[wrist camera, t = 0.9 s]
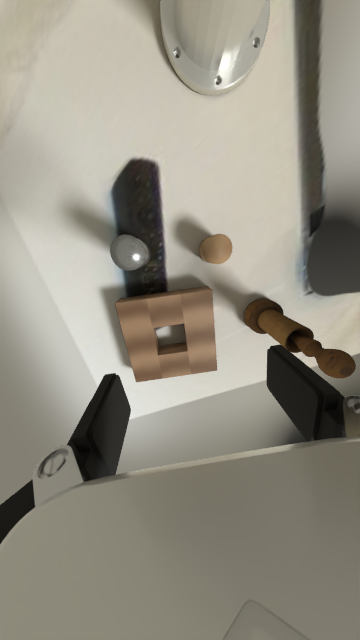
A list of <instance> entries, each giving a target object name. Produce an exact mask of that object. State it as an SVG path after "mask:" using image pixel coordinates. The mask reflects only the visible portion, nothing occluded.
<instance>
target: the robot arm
mask: <svg viewBox="0 0 360 640" xmlns="http://www.w3.org/2000/svg"><path fill="white" fill-rule="evenodd" d="M269 15H270V0H160V21H161V30H162V38H163V42H164V46H165V50H166V53H167V55H168V58H169V60H170V63H171V65H172V66H173V68H174V70H175V72H176V73H177V75H178V76H179V77H180V78H181V80H182V81H183V82H184V83H185V84H186V85H187V86H189V87H190V88H191V89H192V90H194V91H196V92H199V93H201V94H205V95H210V96H211V95H221V94H224V93H227V92H229V91H230V90H232V89H234V88H235V87H237V86H238V85H239V84H240V83H241V82H242V81H243V80H244V79H245V78H246V76H247V75H248V74H249V72H250V71H251V69H252V67H253V66H254V64H255V62H256V60H257V58H258V55H259V53H260V51H261V49H262V46H263V43H264V39H265V36H266V32H267V28H268V22H269ZM267 387H268V389H269V390H270V392H271V393H272V395H273V396H274V397H275V399H276V400H277V401H278V403H279V404H280V405H281V407H282V408H283V410H284V411H285V412H286V414H287V415H288V416H289V418H290V419H291V420H292V422H293V423H294V425H295V426H296V427H297V428H298V430H299V431H300V433H301V434H302V435H303V437H304V438H305V439H306V441H307V442H303V443H297V444H290V445H284V446H278V447H272V448H266V449H259V450H253V451H247V452H241V453H235V454H230V455H224V456H218V457H212V458H206V459H200V460H194V461H189V462H183V463H177V464H172V465H166V466H160V467H155V468H149V469H144V470H138V471H132V472H128V473H122V474H117V475H115V474H116V470H117V466H118V462H119V458H120V454H121V450H122V446H123V441H124V437H125V433H126V429H127V425H128V421H129V417H130V412H131V409H130V405H129V402H128V399H127V397H126V394H125V391H124V388H123V385H122V383H121V380H120V377H119V375H116V374H115V373H113V374H107V375H105V376H104V377H103V379H102V381H101V383H100V385H99V387H98V389H97V391H96V393H95V394H94V396H93V398H92V400H91V401H90V403H89V405H88V407H87V408H86V410H85V412H84V414H83V416H82V418H81V419H80V421H79V424H78V425H77V427H76V429H75V431H74V433H73V435H72V436H71V438H70V440H69V442H68V444H67V445H61V446H59V447H56V448H54V449H53V450H51V451H50V452H48V453H47V454H46V455H45V456H44V457H43V458H42V459H41V460H40V461H39V463H38V464H37V466H36V467H35V470H34V472H33V479H32V480H31V481H30V482H29V483H27V484H26V485H25V486H24V487H22V488H21V489H20V490H19V491H18V492H17V493H15V494H14V495H12V496H11V497H10V498H9V499H7V500H6V501H5V502H4V503H2V504H1V505H0V640H360V396H348V397H346V398H345V397H344V396H342V395H341V394H340V392H339V391H338V390H336V389H335V388H334V387H333V386H331V385H330V384H329V383H328V382H327V381H325V380H324V379H323V378H322V377H320V376H319V375H318V374H317V373H315V372H314V371H313V370H312V369H311V368H309V367H308V366H307V365H306V364H304V363H303V362H302V361H301V360H299V359H298V358H297V357H296V356H295V355H293V354H292V353H291V352H290V351H288V350H287V349H286V348H285V347H283V346H282V345H275V346H271V347H270V349H268V351H267Z"/></svg>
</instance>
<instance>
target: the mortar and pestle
mask: <svg viewBox="0 0 360 640" xmlns="http://www.w3.org/2000/svg"><path fill="white" fill-rule="evenodd" d="M244 320H245V323H246V324H247V325H248V326H249V327H250V328H251V329H252V330H253V331H255V332H256V333H259V334H266V333H268V334H269V335H270V336H271V337H273V338H274V339H275V340H276V341H278V342H279V343H280V344H281V345H282V346H283V347H285V348H286V349H287V350H288V351H290V352H293V353H298V352H301V351H302V352H303V353H304V354H305V355H306V356H308V357H313V356H314V357H315V358H316V361H317V363H318V366H319V368H320V369H321V370H322V371H323V372H324V373H325V374H327V375H328V376H331V377H334V378H345V377H348V376H350V375H351V374H352V373H353V372H354V370H355V367H356V366H355V362H354V360H353V358H352V357H351V356H350V355H349V354H347V353H346V352H344V351H341V350H337V349H324V348H322V345H321V343H320V342H319V341H316V340H314V339H313V338H314V335H313V332H312V331H311V330H310V329H309V328H307V327H305V326H303V325H301V324H299V323H297V322H295V321H293V320H292V319H290V318H288V317H286V316H284V315H283V310H282V308H281V306H280V305H279V304H277V303H276V302H274V301H272V300H269V299H258V300H255V301H253V302H252V303H251V304H250V305H249V306H248V307H247V308H246V310H245V313H244Z"/></svg>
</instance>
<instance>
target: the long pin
mask: <svg viewBox="0 0 360 640" xmlns="http://www.w3.org/2000/svg"><path fill="white" fill-rule="evenodd" d="M110 253H111V257H112V260H113V261H114V263H115V264H116V265H117V266H118V267H119V268H121V269H123V270H128V271H130V270H135V269H137V268H140V267H142V266H144V265H146V264H148V263H149V261H150V260H151V256H152V253H151V249H150V247H149V246H148V245H147V244H146V243H145V242H143V241H141V240H139V239H137V238H135V237H133V236H131V235H121V236H118V237H117V238H116V239H115V240H114V241H113V242H112V244H111V248H110Z"/></svg>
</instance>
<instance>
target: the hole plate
mask: <svg viewBox="0 0 360 640" xmlns="http://www.w3.org/2000/svg"><path fill="white" fill-rule="evenodd" d="M115 306H116V310H117V314H118V317H119V321H120V325H121V328H122V332H123V336H124V339H125V343H126V347H127V350H128V354H129V358H130V361H131V365H132V369H133V373H134V376H135V380H136V382H141V381H148V380H155V379H162V378H169V377H175V376H182V375H189V374H196V373H203V372H210V371H217V360H216V344H215V329H214V314H213V298H212V289H210V288H209V287H208V286H205V287H198V288H191V289H184V290H177V291H170V292H163V293H155V294H148V295H141V296H134V297H127V298H120V299H119V300H118V301H117V302H116V303H115ZM177 324H184V330H185V337H186V343H179V344H172V345H165V346H159V344H158V339H157V334H156V329H155V328H156V327H163V326H170V325H177Z"/></svg>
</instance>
